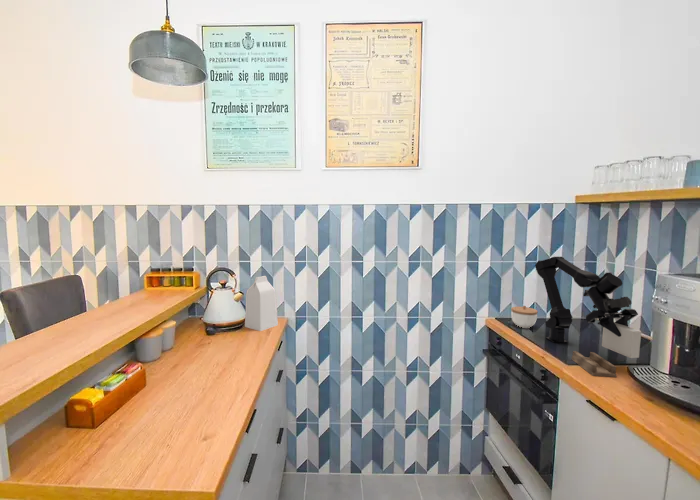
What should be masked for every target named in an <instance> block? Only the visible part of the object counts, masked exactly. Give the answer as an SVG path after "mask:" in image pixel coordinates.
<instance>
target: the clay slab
mask: <svg viewBox="0 0 700 500" xmlns="http://www.w3.org/2000/svg"><path fill="white" fill-rule="evenodd" d="M615 322H616V321H614V323H615ZM615 325H616V326H617V328H618V330H619V331H620V333H621V336H620V337H618V336H617V335H615V334H614V333H612V332H611V331H609V330H608V329H606V328H605V327H603V326H602V327H603V328H602V339H601V347H603V348H605V349H607V350H611V351H613V352H615V353H618V354H620V355H622V356H625V357H626V358H630V359H639V358H640V348H641V339H642V330H639V329H637V328H633V327H630V326H628V327H627V326H624V325H621V324H618V323H615Z"/></svg>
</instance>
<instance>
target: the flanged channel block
mask: <svg viewBox="0 0 700 500" xmlns="http://www.w3.org/2000/svg"><path fill="white" fill-rule="evenodd" d="M571 360H572V361H573V362H575V364H577V365H578V366H580V367H581V368H582V369H583V370H585V371H586V372H587V373H588V374H590V375H591V376H593V377H605V378H607V377H609V378H617V373H616V372H617V366H615V365H614V364H612V363H611V362H610V361H608V360H607V359H605V358H604V357H602V356H600V354H597V353H596V352H594V351H589V357H587V356H584V355H583V354H582V353H580V352H578V351H577V350H573V351H572V356H571Z"/></svg>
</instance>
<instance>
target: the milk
mask: <svg viewBox="0 0 700 500" xmlns="http://www.w3.org/2000/svg"><path fill="white" fill-rule="evenodd" d="M277 306H278V305H277V292H276V289H275V288H274V287H273V285H272V284H271V283H270V282H269V280H268V278H267V276H266V275H263V276H255V279H254V282H253V283H252V285H250V286H249V288H247V290H246V294H245V315H244V316H245V317H244V318H245V320H244V327H245V328H247V329H251V330H255V331H259V332H262V331H265V330H268V329H272V328H274V327H277V326H278V325H279V323H278V307H277Z"/></svg>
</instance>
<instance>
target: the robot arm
mask: <svg viewBox="0 0 700 500" xmlns="http://www.w3.org/2000/svg"><path fill="white" fill-rule="evenodd" d="M534 267H535V271H536V273H537V274H538V276H539V277H540V278H542V280H543V284H544V286H545V290H546V293H547V298H548V300H549V304H550V307H551V308H550V312H549V318H548V319H547V320H546V321H545V323H544V324H545V327H546V328H548V329H549V336H546V337H545V338H546V339H547V340H548V341H551V342H553V343H554V344H555V343H568V340H566V339H565V338H566V337H565V335H566V330H567V329H568V330H569V329H570V327H571V324H572V323H573V315H572V313H571V310H570V308H566V307H565V306H564V304H563V299H562V297H561V293H560V290H559V288H558V284H557V280H556V278H555V276H556V273H557V269H560V271H563V272H564V273H566V274H567V275H569V276H570V277H572V279H573V281H574V283H575V284H577V285H578V286H579V287H581V288H588V289H584V293H583V297H589V298H590V300H591V301H592V303H593V305H592V308H593V309H595V310H592V311H590V312H589V313H587V314H586V316H585V320H586V322H587V323H588V324H595V323H596V320H597V319H598V322H597V325H600V326H601V327H605V328H606V329H608V330H609V331H611V332H612V333H614V334H615V335H617V336H618V337H620V336H621V333H620V331H619V330H618V328H617V326H616V325H615V323H618V324H621V325H624V326H627V327H629V324H628V322H629V321H630V320H632V319H633V318H635V317H637V316H638V315H639V313H638V312H637V310H636V309H633V308H630V305H632V300H631V299H630V298H629V297H628V296H623V297H620V298H616V299H614V298H610V297H609V296H608V295H610V294H612V293H614V292H615V291H617V290H618V289H619V288H620V287H622V286H623V281H622V279H621V278H619V276H616V275H614V274H613V273H612V272H605V273H604V274H603V275H602V276H601V277H600V276H599V275H598V274H597V273H594V272H591V271H589V270H584V269H582V268H580V267H578V266H576V265H575V264H574V263H572V262H570V261H569V260H567V259H566V258H565V257H564V256H553V257H550V258H547V259H542V260H538V261H537V262H536V263H535V265H534ZM623 308H625V309H623ZM622 309H623V310H622ZM619 311H620V312H619ZM614 322H615V323H614Z"/></svg>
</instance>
